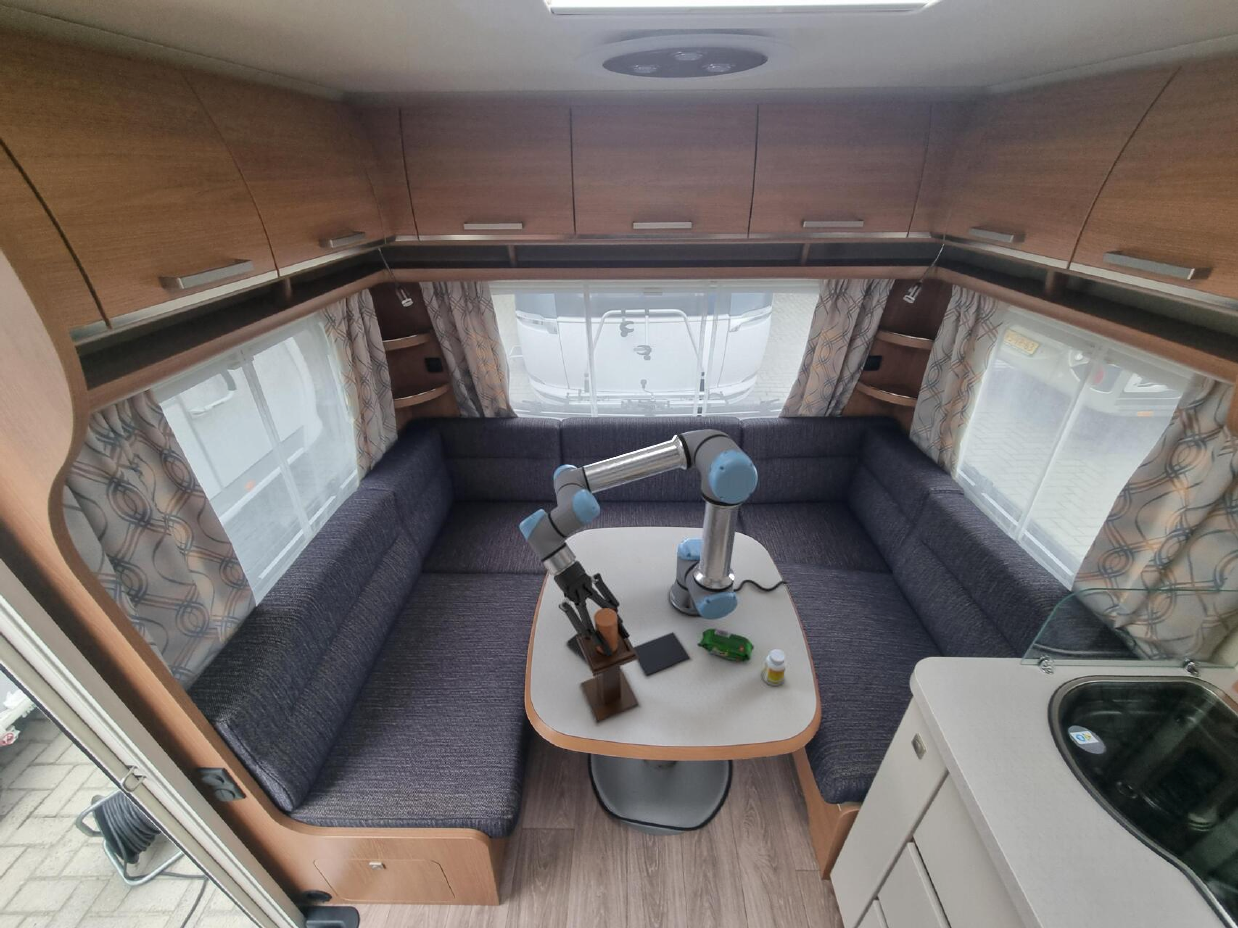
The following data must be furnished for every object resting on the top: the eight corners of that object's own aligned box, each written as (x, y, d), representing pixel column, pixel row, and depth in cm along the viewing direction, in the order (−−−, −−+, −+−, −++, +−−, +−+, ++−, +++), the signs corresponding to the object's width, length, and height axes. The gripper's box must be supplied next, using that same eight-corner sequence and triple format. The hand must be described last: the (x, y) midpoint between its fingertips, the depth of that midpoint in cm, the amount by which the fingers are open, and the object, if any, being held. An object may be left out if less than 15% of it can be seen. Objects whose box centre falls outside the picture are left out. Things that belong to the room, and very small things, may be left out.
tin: (613, 632, 126) (611, 605, 121) (621, 649, 122) (620, 621, 117) (592, 640, 124) (590, 612, 119) (600, 657, 120) (599, 629, 115)
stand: (620, 669, 140) (618, 618, 129) (638, 705, 131) (638, 653, 120) (581, 685, 136) (576, 634, 125) (596, 723, 127) (593, 671, 116)
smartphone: (565, 644, 148) (601, 676, 138) (565, 642, 148) (601, 674, 138) (584, 629, 153) (621, 659, 143) (584, 627, 152) (621, 657, 143)
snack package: (701, 634, 150) (702, 622, 148) (753, 648, 145) (755, 637, 143) (696, 652, 145) (697, 640, 142) (750, 668, 140) (752, 656, 137)
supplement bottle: (758, 673, 138) (763, 651, 133) (773, 666, 140) (778, 644, 135) (771, 689, 134) (776, 666, 129) (786, 681, 136) (792, 658, 131)
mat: (672, 633, 151) (673, 632, 151) (689, 658, 143) (689, 657, 143) (631, 649, 146) (631, 647, 146) (646, 676, 138) (646, 674, 138)
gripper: (582, 551, 129) (632, 624, 129) (530, 593, 117) (585, 673, 116) (597, 544, 124) (649, 619, 123) (543, 586, 111) (601, 671, 111)
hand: (618, 645), depth 120 cm, fingers closed on tin, 6 cm apart
